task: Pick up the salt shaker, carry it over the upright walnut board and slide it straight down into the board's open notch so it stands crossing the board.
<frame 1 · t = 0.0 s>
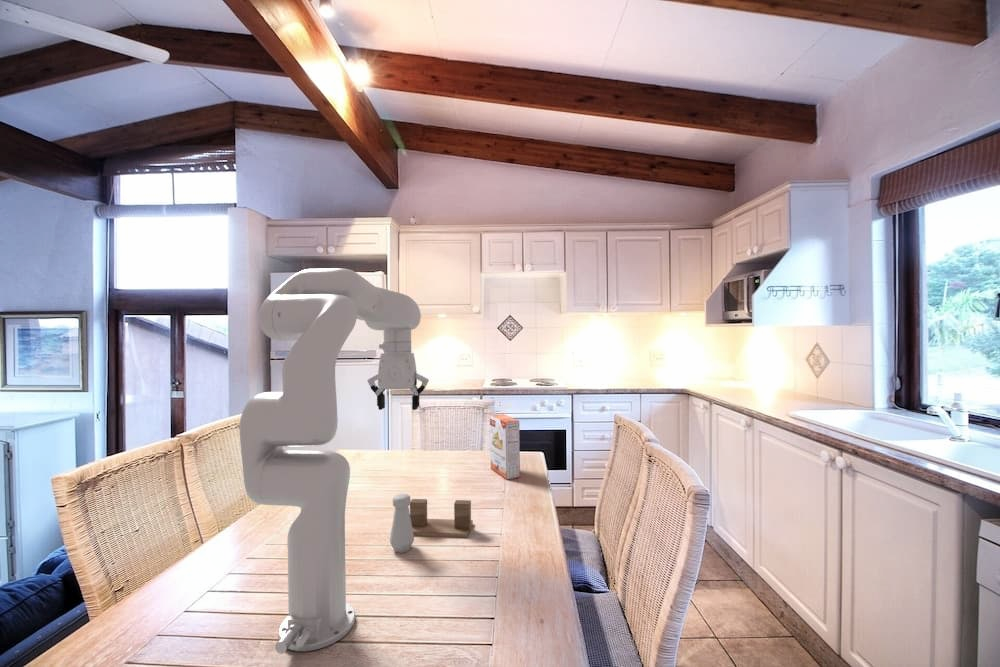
hand: (398, 409, 124), 31 cm above the table, tool pointing down, fingers open, 9 cm apart
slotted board: (440, 529, 118), on the table
salt shaker: (402, 549, 107), on the table
cracker box: (504, 474, 163), on the table
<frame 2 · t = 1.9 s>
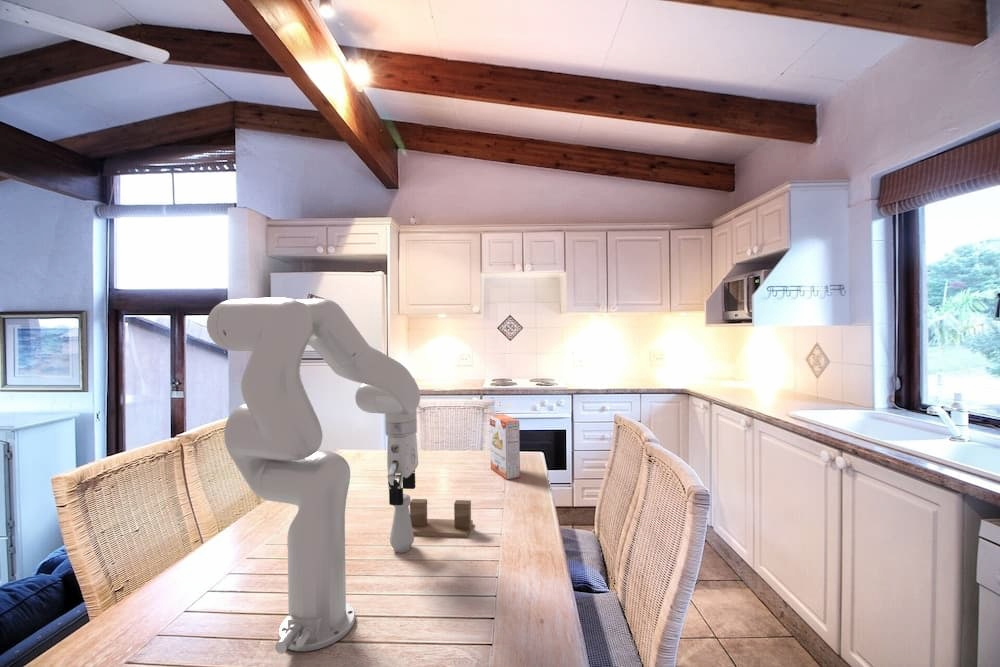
hand: (403, 496, 108), 13 cm above the table, tool pointing down, fingers open, 9 cm apart
nothing on the table moved.
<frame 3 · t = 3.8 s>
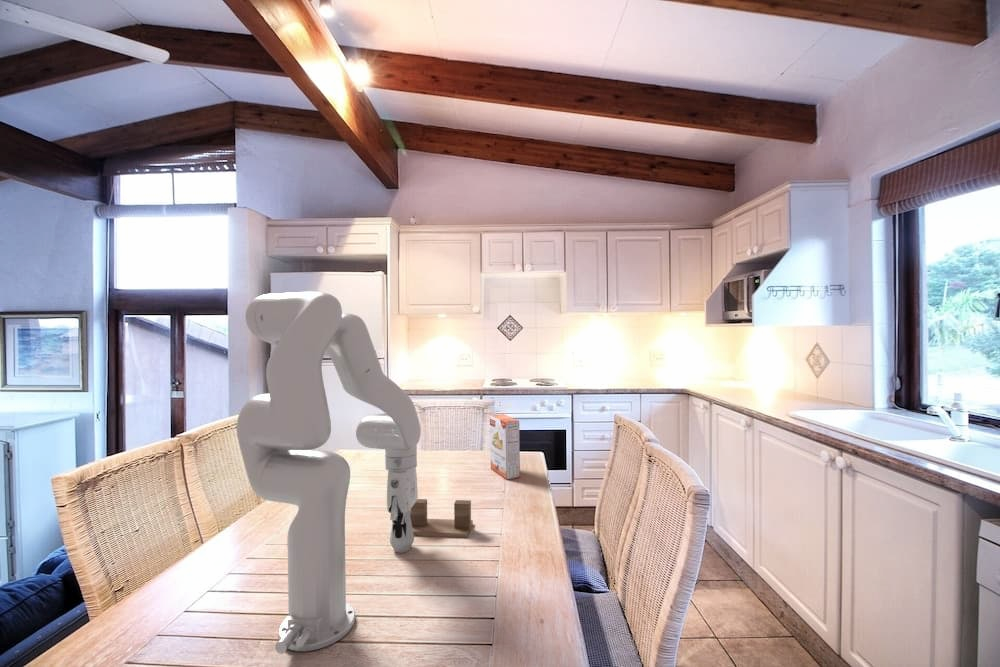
hand: (402, 535, 107), 3 cm above the table, tool pointing down, fingers closed on salt shaker, 3 cm apart
salt shaker: (402, 549, 107), on the table, touching gripper
everything else where it was.
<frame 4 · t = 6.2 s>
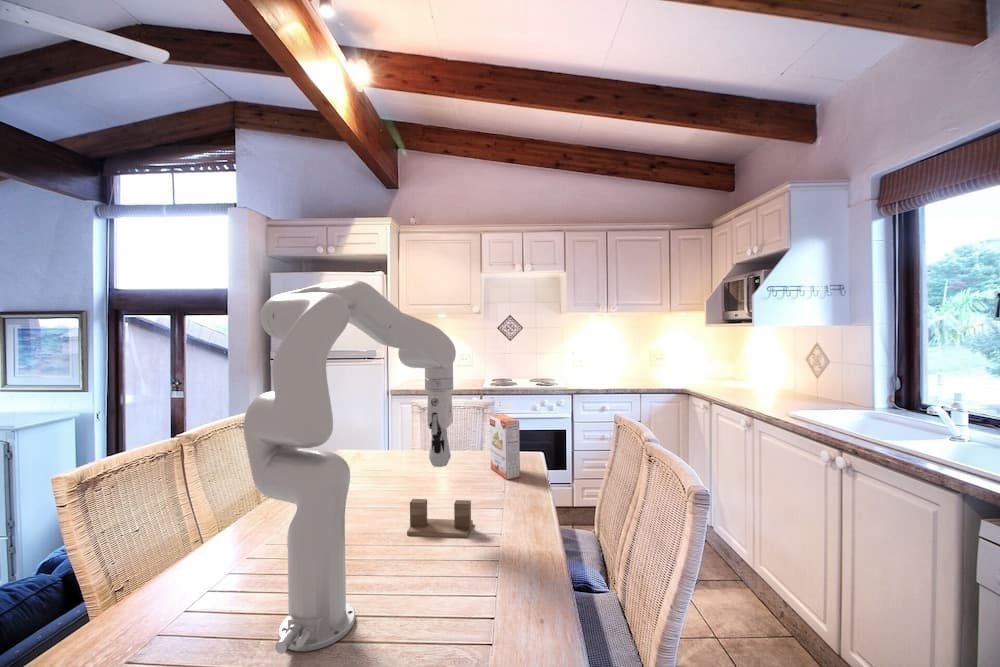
hand: (439, 452, 117), 21 cm above the table, tool pointing down, fingers closed on salt shaker, 3 cm apart
salt shaker: (439, 465, 117), point 17 cm above the table, touching gripper
everything else where it was.
when the fingers open (6 cm above the table, at t = 8.9 s): salt shaker drops 1 cm, resting on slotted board.
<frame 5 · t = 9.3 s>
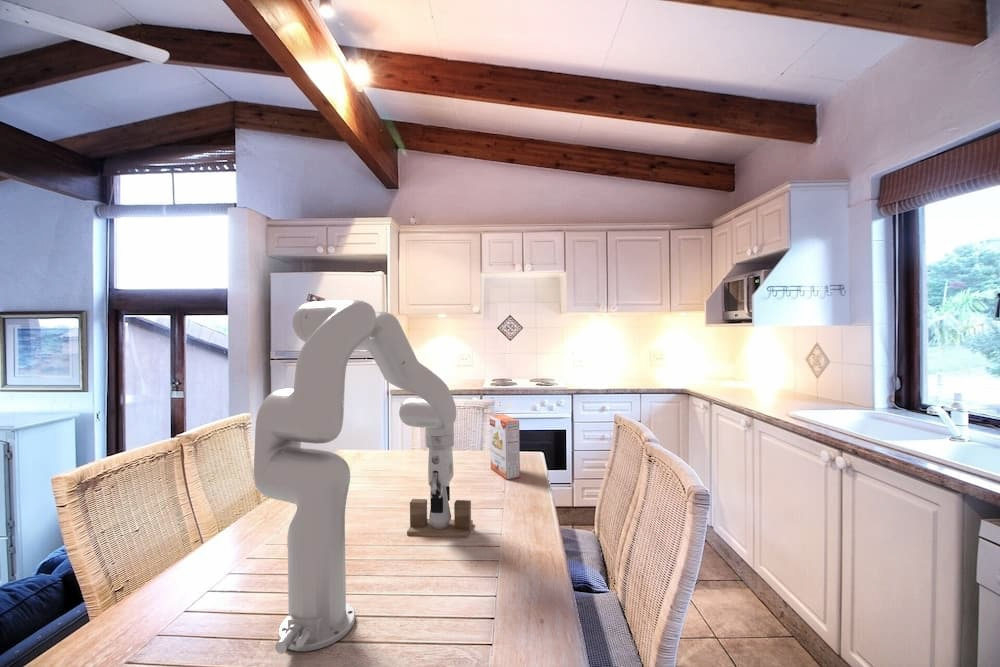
hand: (440, 505, 118), 6 cm above the table, tool pointing down, fingers open, 7 cm apart
salt shaker: (440, 526, 117), point 1 cm above the table, touching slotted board
everything else where it was.
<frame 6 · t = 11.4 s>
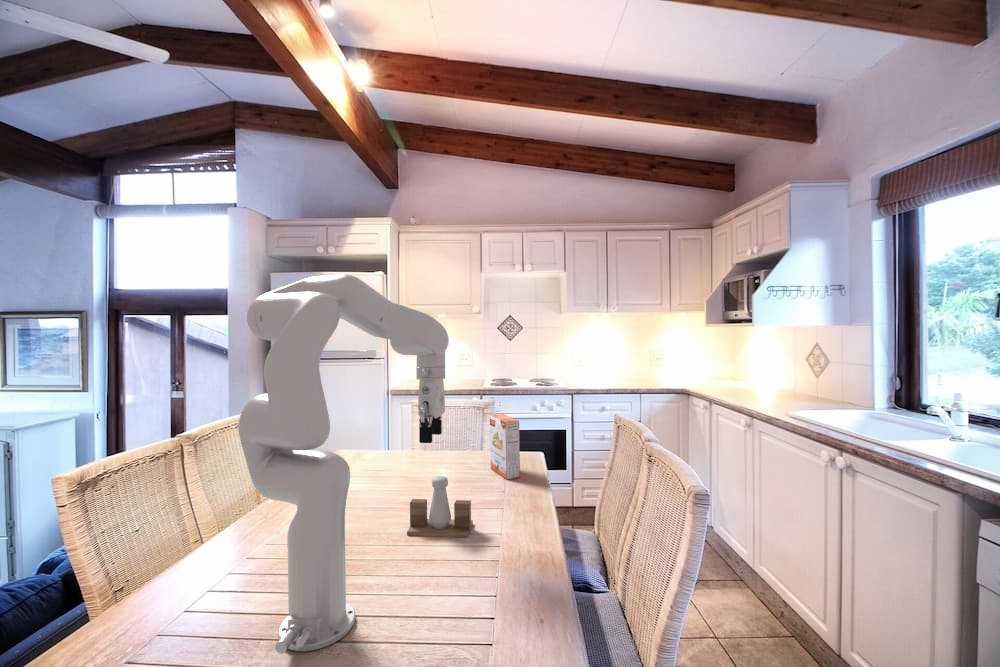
hand: (431, 438, 116), 25 cm above the table, tool pointing down, fingers open, 9 cm apart
nothing on the table moved.
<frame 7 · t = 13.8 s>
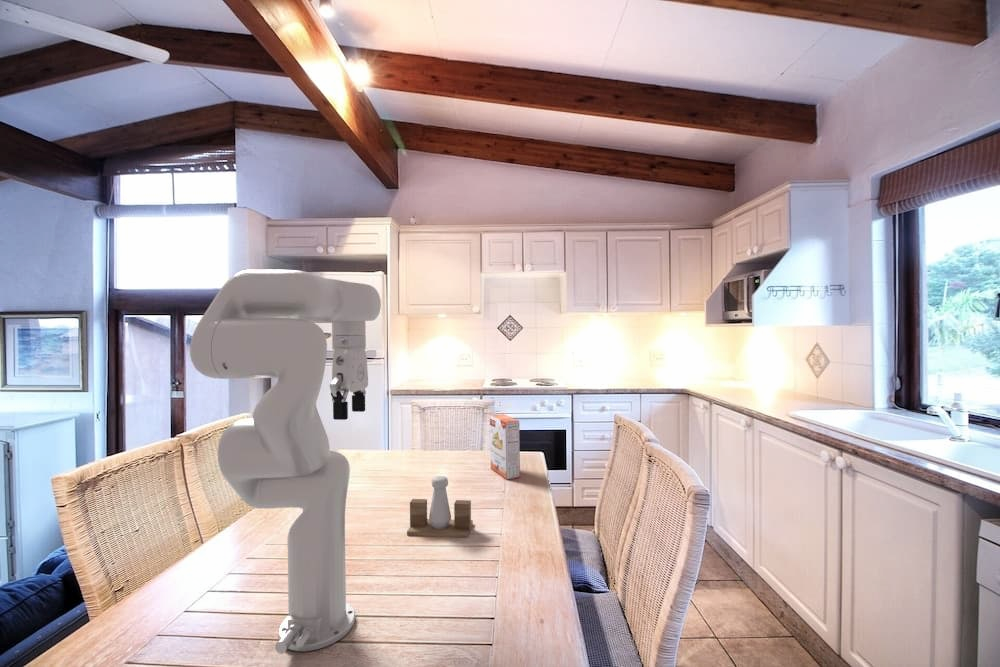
hand: (350, 415, 104), 33 cm above the table, tool pointing down, fingers open, 9 cm apart
nothing on the table moved.
at the end: salt shaker 0.3 cm off-centre on the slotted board, point 0.8 cm above the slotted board's base; salt shaker tilted 0°; the gripper is holding nothing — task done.
